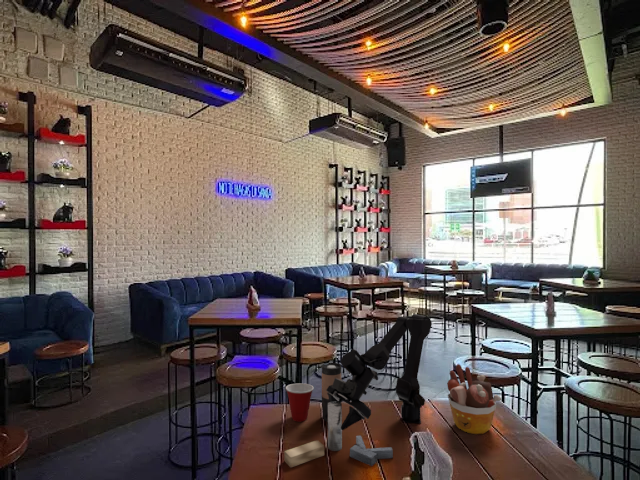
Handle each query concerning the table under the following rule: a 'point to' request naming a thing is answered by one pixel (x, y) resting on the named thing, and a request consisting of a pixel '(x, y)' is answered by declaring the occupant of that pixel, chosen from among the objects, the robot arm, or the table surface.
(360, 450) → the grey flat branched piece
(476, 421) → the bucket of meat
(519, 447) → the table surface
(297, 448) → the beam
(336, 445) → the grey metallic cylinder
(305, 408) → the plastic cup
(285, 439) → the table surface
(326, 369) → the travel mug
